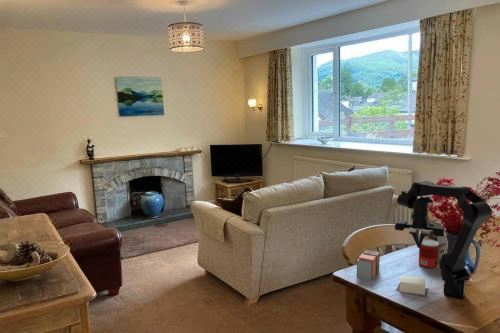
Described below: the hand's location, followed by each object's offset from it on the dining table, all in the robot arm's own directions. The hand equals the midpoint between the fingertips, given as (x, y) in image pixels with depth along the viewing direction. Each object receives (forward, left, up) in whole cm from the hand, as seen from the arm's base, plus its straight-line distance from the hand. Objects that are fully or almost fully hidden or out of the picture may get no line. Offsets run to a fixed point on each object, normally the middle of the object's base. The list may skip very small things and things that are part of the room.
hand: (418, 247), depth 168 cm
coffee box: (-3, -28, -13) cm, 31 cm away
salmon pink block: (+18, +10, -13) cm, 25 cm away
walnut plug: (+18, +5, -13) cm, 23 cm away
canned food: (-2, -14, -13) cm, 19 cm away
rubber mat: (-1, +14, -13) cm, 19 cm away
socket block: (+19, +8, -13) cm, 24 cm away
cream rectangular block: (-1, +14, -12) cm, 19 cm away
